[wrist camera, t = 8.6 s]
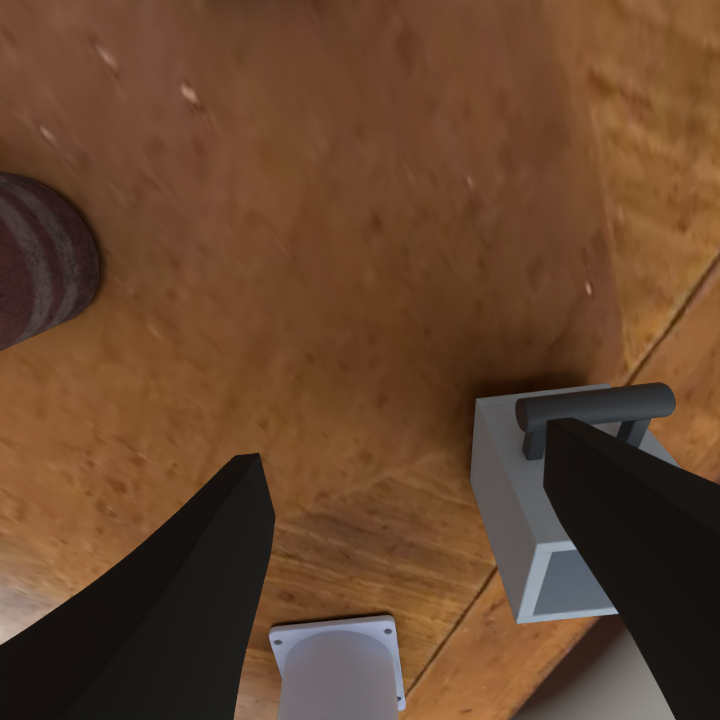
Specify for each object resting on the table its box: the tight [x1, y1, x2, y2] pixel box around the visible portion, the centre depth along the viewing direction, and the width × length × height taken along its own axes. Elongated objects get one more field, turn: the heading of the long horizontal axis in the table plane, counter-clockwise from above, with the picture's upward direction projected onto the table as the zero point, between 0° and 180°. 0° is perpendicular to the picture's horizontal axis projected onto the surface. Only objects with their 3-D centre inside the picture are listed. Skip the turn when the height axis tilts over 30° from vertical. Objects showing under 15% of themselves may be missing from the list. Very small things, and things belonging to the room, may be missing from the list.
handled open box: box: [470, 382, 682, 624], centre depth 17 cm, size 7×6×9 cm
